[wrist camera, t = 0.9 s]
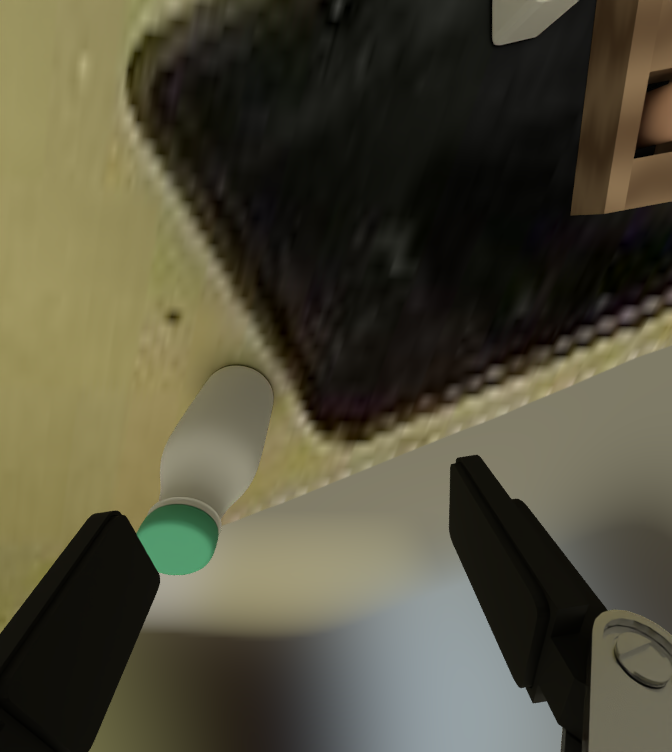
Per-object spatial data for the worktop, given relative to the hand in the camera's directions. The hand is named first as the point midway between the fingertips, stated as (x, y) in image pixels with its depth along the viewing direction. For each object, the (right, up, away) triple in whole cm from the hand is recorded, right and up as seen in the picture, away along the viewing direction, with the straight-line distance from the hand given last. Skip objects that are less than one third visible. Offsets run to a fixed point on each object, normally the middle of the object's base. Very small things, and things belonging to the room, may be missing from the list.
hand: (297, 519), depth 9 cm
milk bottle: (-10, +2, +28) cm, 30 cm away
